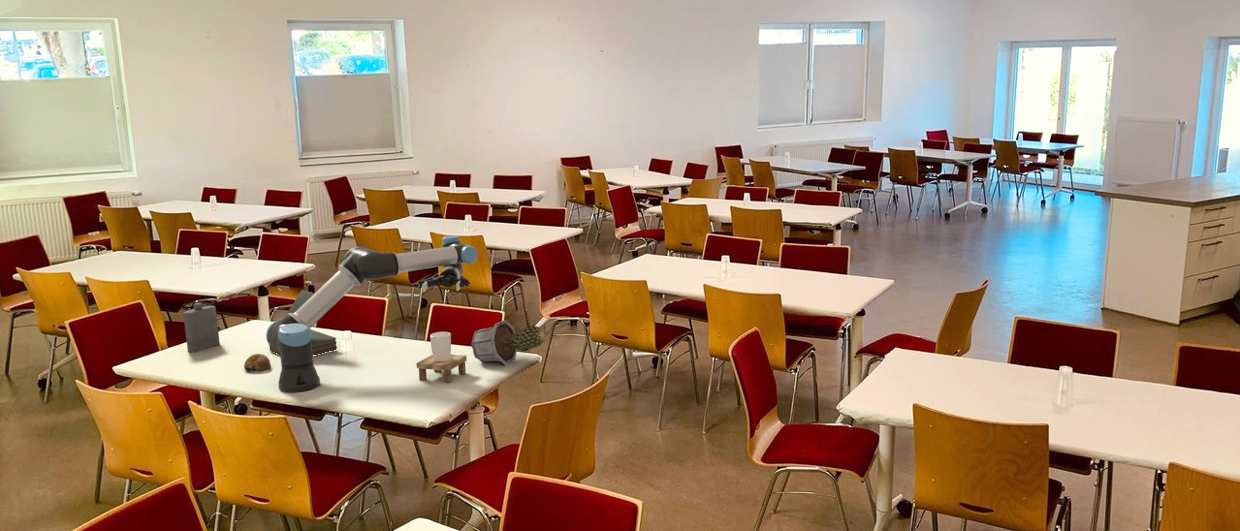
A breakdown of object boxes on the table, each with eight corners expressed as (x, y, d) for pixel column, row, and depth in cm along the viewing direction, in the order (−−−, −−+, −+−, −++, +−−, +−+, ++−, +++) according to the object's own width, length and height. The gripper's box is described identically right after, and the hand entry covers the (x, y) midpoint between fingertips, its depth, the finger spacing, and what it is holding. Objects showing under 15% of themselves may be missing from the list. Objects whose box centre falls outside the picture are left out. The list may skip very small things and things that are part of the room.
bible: (269, 352, 418) (264, 296, 413) (311, 342, 431) (306, 288, 426) (295, 362, 402) (289, 304, 397) (337, 351, 415) (332, 295, 410)
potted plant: (462, 331, 386) (527, 318, 374) (484, 322, 402) (547, 309, 391) (473, 373, 387) (538, 361, 375) (494, 362, 403) (557, 351, 392)
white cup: (456, 358, 375) (454, 333, 373) (442, 363, 369) (440, 338, 367) (441, 355, 380) (439, 330, 378) (427, 360, 373) (425, 335, 371)
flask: (213, 342, 434) (208, 299, 430) (222, 344, 431) (217, 300, 427) (184, 351, 422) (178, 306, 418) (192, 352, 419) (187, 308, 415)
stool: (417, 380, 372) (416, 363, 370) (436, 369, 384) (435, 353, 383) (449, 383, 367) (448, 366, 365) (467, 372, 380) (466, 355, 378)
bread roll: (272, 377, 393) (278, 358, 394) (249, 372, 385) (255, 353, 386) (260, 372, 400) (266, 354, 401) (237, 368, 392) (243, 349, 393)
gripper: (479, 284, 406) (472, 296, 385) (420, 286, 406) (409, 298, 385) (478, 267, 404) (470, 277, 384) (419, 268, 404) (408, 279, 384)
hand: (440, 288), depth 384 cm, fingers open, 13 cm apart
